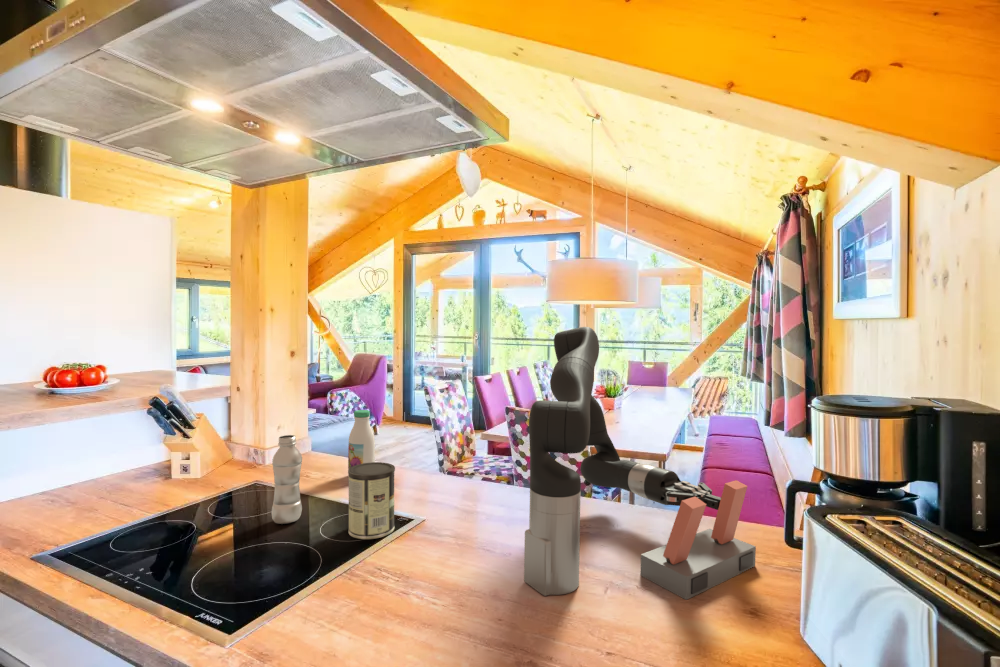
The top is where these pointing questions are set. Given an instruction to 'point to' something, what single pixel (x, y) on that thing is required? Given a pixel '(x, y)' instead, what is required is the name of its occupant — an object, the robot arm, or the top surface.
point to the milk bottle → (361, 440)
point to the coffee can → (371, 500)
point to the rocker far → (728, 512)
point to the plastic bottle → (286, 481)
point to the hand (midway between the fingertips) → (723, 505)
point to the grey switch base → (698, 565)
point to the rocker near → (684, 530)
